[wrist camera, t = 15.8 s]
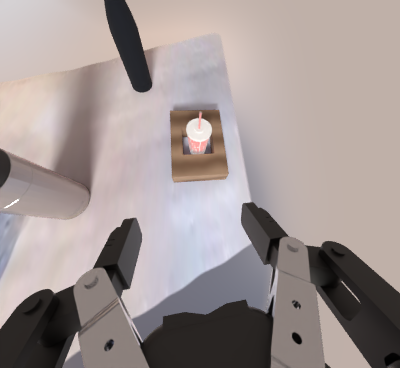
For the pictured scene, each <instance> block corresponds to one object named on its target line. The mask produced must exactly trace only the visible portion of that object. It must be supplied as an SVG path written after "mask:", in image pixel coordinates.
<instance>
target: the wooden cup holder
mask: <svg viewBox="0 0 400 368" xmlns="http://www.w3.org/2000/svg"><path fill="white" fill-rule="evenodd" d="M200 111H201V112H202V115H201V119H204V120H206V121H208V122H209V123H210V124H211V127H212V133H211V136H210V144H211V153H212V154H190V155H183V142H182V137H188V135H187V132H186V127H187V124H188V123H189V121H191V120H193V119H196V118H199V112H200ZM170 122H171V158H172V178H173V181H174V182H188V181H205V180H221V179H226V177H227V176H228V174H229V173H228V166H227V160H226V153H225V146H224V140H223V133H222V127H221V120H220V114H219V110H188V111H170Z"/></svg>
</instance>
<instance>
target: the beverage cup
mask: <svg viewBox="0 0 400 368" xmlns="http://www.w3.org/2000/svg"><path fill="white" fill-rule="evenodd" d="M201 115H202V112H201V111H200V112H199V118H196V119H193V120H191V121H189V123H188V124H187V127H186V132H187V135H188V141H189V149H190V152H191V153H192V154H204V152H205V150H206V146H207V143H208V140H209V137H210V136H211V133H212V127H211V124H210V123H209V122H208V121H206V120H204V119H201Z"/></svg>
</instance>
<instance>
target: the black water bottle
mask: <svg viewBox="0 0 400 368" xmlns="http://www.w3.org/2000/svg"><path fill="white" fill-rule="evenodd" d="M104 1H105V9H106V16H107V20H108V24H109V28H110V31H111V34H112V36H113V39H114V42H115V44H116V47H117V49H118V51H119V54H120V57H121V59H122V61H123V64H124V66H125V69H126V71H127V74H128V76H129V79H130V81H131V84H132V86H133V88H134V90H136V91H138V92H146V91H148V90H150V89H151V87H152V82H151V78H150V74H149V70H148V66H147V62H146V59H145V55H144V51H143V47H142V43H141V39H140V36H139V32H138V28H137V26H136V23H135V21H134V19H133V16H132V13H131V11H130V9H129V7H128V5H127V4H126V2H125V0H104Z"/></svg>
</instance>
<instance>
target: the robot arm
mask: <svg viewBox="0 0 400 368" xmlns="http://www.w3.org/2000/svg"><path fill="white" fill-rule="evenodd" d="M89 199H90V195H89V191H88V189H87V188H86V187H85V186H84V185H82V184H80V183H78V182H76V181H73V180H71V179H69V178H67V177H64V176H62V175H60V174H58V173H55V172H53V171H51V170H48V169H46V168H44V167H42V166H39V165H37V164H35V163H33V162H30V161H28V160H26V159H23V158H21V157H19V156H16V155H14V154H12V153H9V152H7V151H5V150H3V149H0V213H3V214H13V215H24V216H34V217H44V218H54V219H71V218H74V217H76V216H78V215H79V214H81V213H82V212H83V211H84V210H85V208H86V207H87V205H88V203H89ZM241 223H242V226H243V228H244V230H245V232H246V233H247V235H248V237H249V239H250V241H251V242H252V244H253V246H254V247H255V249H256V251H257V253H258V255H259V256H260V258H261V260H262V262H263V264H264V265H266V264H271V266H272V267H273V268H272V273H271V281H270V288H269V296H268V302H267V307H266V312H264V311H262V310H260V309H257V308H254V307H249V306H248V304H247V302H246V300H242V301H236V302H232V303H227V304H225V305H223V306H221V307H220V308H218V309H216V310H214V311H213V312H211V313H209V314H206V315H204V314H195V313H187V312H184V313H179V314H173V315H168V316H164V317H163V324H162V325H160V326H159V327H157V328H156V329H155V330H154V331H153V332H152V333H150V334H149V335H148V336H147V338H146V339H145V340H144V341H142V339H141V337H140V335H139V333H138V331H137V329H136V328H135V325H134V323H133V321H132V319H131V317H130V315H129V313H128V311H127V309H126V307H125V305H124V302H123V300H122V298H121V295H122V292H123V290H126V289H130V286H131V282H132V278H133V274H134V270H135V266H136V262H137V258H138V254H139V250H140V246H141V243H142V233H141V230H140V227H139V224H138V221H137V219H136V218H130V219H124V220H123V222H122V225H121V227H117V228H116V229H115V230H114V231H113V232H112V233H111V234H110V236H109V238H108V241H107V242H106V244H105V247H104V248H103V250H102V252H101V254H100V256H99V257H98V259H97V261H96V263H95V265H94V267H93V269H92V270H90V271H88V272H86V273H85V274H84V275H82V276H81V277H80V278H79V280H78V281H77V282H76V284H75V285H73V286H71V287H69V288H67V289H64V290H62V291H60V292H58V293H54V292H53V291H52V290H50V289H44V290H41V291H38V292H36V293H34V294H32V295H31V296H29V297H28V298H27V299H25V300H24V301H23V302H22V303H21V304H20V305H19V306H18V307H17V308H16V309H15V310H14V312H13V313H12V314H11V316H10V317H9V318H8V320H7V321H6V322H5V324H4V325H3V326H2V328H1V329H0V368H62V366H63V364H64V362H65V359H66V357H67V354H68V352H69V349H70V346H71V344H72V341H73V339H74V336H75V334H76V332H78V331H79V332H78V339H79V344H80V349H81V354H82V359H83V364H84V368H330V367H329V366H328V365H327V364H326V363H325V361H324V353H323V344H322V335H321V328H320V320H319V310H318V302H317V293H316V290H317V292H318V293H319V294H320V296H321V297H322V299H323V300H324V301H325V303H326V304H327V306H328V307H329V308H330V310H331V311H332V313H333V314H334V315H335V317H336V318H337V320H338V321H339V323H340V324H341V325H342V327H343V328H344V330H345V331H346V332H347V334H348V335H349V337H350V338H351V339H352V341H353V342H354V344H355V345H356V346H357V348H358V349H359V351H360V352H361V353H362V355H363V356H364V358H365V359H366V360H367V362H368V363H369V365H370V366H371V367H372V368H400V293H399V292H398V291H396V290H395V289H394V288H393V287H392V286H391V285H390V284H388V283H387V282H386V281H385V280H384V279H383V278H382V277H380V276H379V275H378V274H377V273H376V272H374V270H372V269H371V268H370V267H369V266H368V265H367V264H365V263H364V262H363V261H362V260H361V259H360V258H359V257H357V256H356V255H355V254H354V253H353V252H352V251H351V250H349V249H348V248H347V247H345V246H343V245H341V244H339V243H336V242H332V241H326V242H324V243H323V244H322V246H321V247H314V246H306V245H304V243H302V242H301V241H300V240H298V239H296V238H293V237H289V236H288V235H287V234H286V233H285V231H284V230H283V229H282V228H281V227H280V226H279V225H278V224H277V222H276V221H275V220H274V219H273V218H272V217H271V216H270V214H269V213H268V212H267V211H265V210H264V209H262V208H258V207H257V206H256V205H255V204H254V203H253V202H250V203H243V205H242V214H241ZM341 281H343V282H344V283H345V284H346V286H347V287H348V288H349V289H350V290H351V291H352V292H353V293H354V295H355V296H356V297H357V298H358V299H359V301H360V302H358V300H357V299H356V298H355V297H354V296H353V295H352V293H351V292H350V291H349V290H348V289H347V288H346V287H345V286H344V284H343V283H342V282H341ZM360 303H361V304H360Z"/></svg>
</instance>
